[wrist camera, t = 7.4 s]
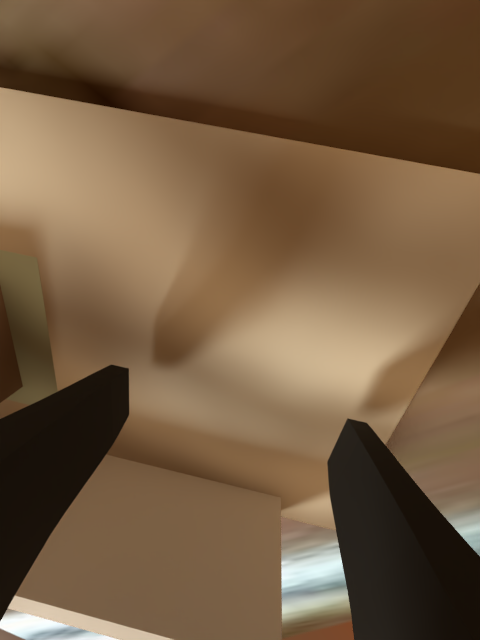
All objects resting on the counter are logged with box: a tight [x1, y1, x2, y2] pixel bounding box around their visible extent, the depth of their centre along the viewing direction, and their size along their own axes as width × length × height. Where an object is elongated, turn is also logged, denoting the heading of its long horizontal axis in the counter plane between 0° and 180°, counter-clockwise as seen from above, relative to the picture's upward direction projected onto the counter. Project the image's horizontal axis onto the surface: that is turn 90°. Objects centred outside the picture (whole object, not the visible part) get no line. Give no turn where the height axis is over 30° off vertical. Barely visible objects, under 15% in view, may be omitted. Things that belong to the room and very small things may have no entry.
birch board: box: [0, 87, 480, 530], centre depth 11 cm, size 15×21×1 cm
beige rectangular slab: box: [8, 455, 282, 640], centre depth 11 cm, size 1×16×5 cm, turn 80°
